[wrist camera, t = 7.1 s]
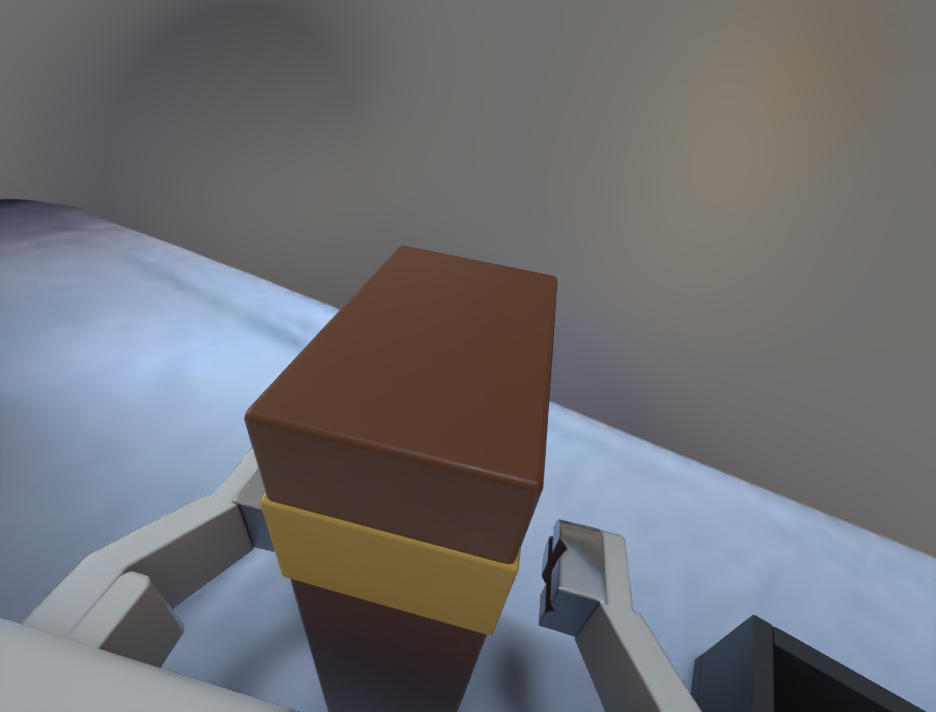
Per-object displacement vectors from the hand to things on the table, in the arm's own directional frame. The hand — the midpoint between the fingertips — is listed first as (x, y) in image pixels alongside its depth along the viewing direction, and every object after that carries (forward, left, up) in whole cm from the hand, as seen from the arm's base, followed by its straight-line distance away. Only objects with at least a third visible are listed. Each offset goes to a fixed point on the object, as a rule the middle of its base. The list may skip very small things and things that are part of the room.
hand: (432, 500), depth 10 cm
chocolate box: (0, -1, -8) cm, 8 cm away
